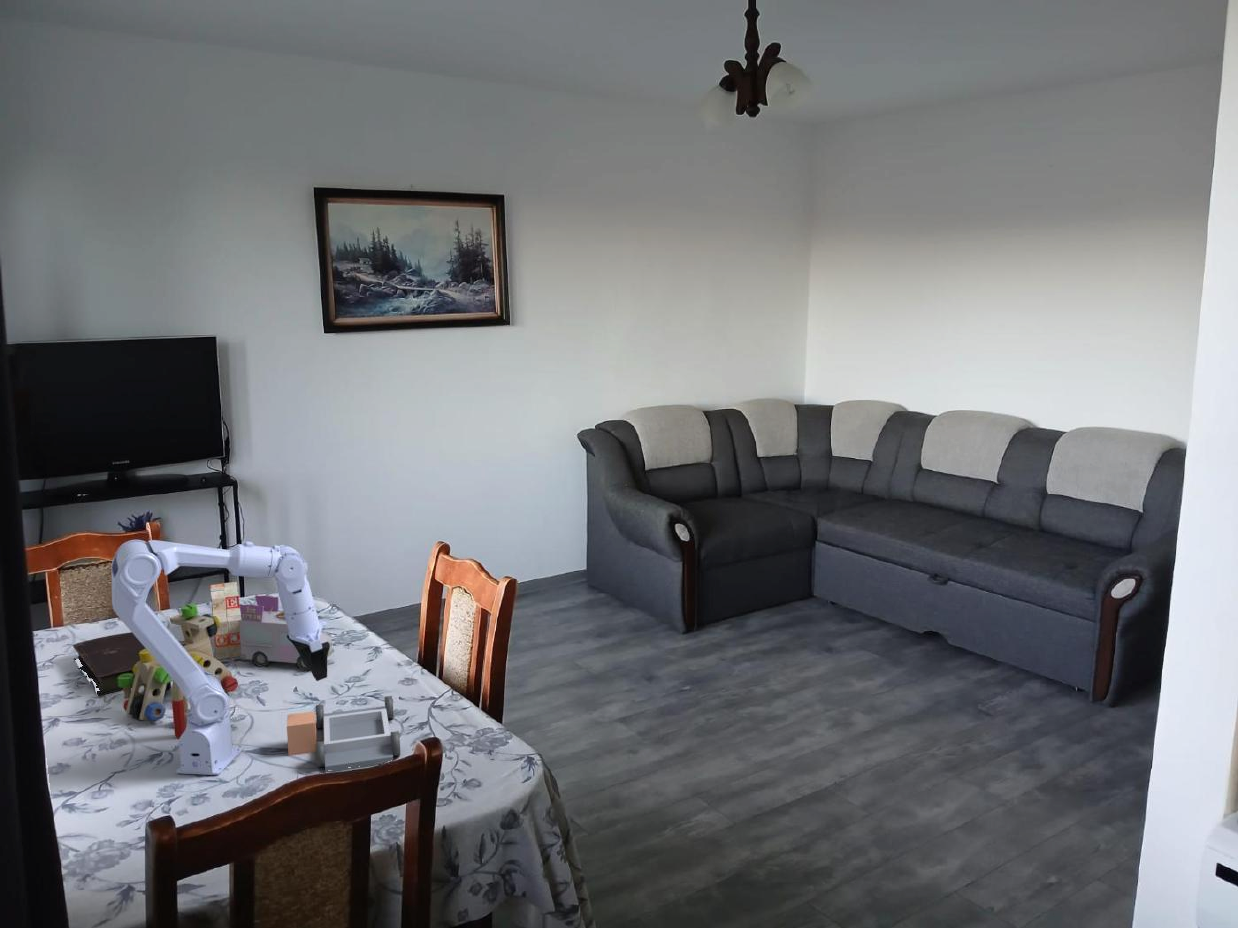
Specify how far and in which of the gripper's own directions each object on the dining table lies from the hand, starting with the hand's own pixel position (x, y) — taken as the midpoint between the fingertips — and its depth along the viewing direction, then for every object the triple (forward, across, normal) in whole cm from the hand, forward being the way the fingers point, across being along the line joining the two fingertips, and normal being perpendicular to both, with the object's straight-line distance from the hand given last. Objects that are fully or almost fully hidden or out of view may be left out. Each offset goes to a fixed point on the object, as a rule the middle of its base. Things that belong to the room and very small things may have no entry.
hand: (316, 671), depth 182 cm
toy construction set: (+9, +26, +23) cm, 36 cm away
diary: (+8, +55, +31) cm, 64 cm away
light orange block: (+12, -4, +7) cm, 14 cm away
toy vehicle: (+14, +39, -1) cm, 41 cm away
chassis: (+14, -7, -3) cm, 16 cm away
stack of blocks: (+12, +60, +9) cm, 61 cm away
